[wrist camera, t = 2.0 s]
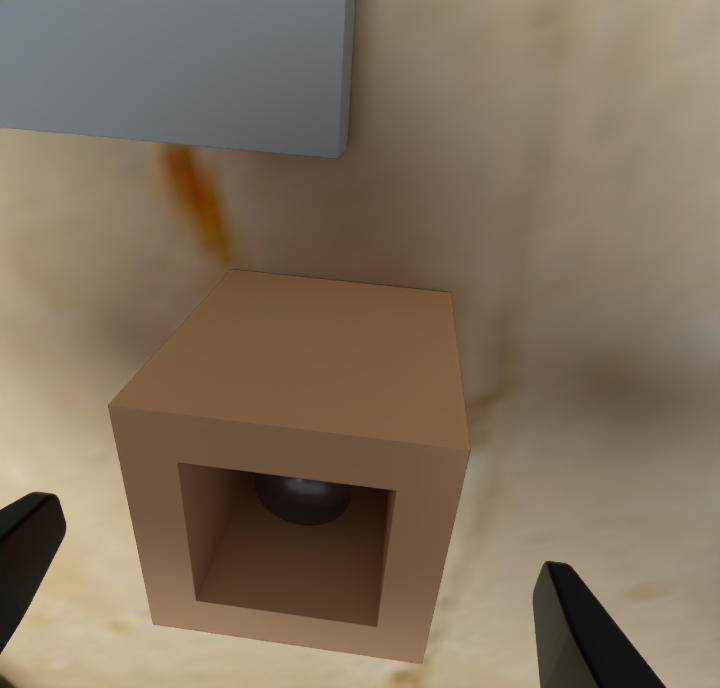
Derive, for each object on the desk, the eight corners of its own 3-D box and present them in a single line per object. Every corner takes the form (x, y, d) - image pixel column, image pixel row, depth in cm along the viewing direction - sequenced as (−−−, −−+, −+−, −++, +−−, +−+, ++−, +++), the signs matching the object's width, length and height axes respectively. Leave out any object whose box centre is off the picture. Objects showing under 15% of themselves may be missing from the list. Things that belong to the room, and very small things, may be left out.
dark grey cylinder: (373, 346, 14) (354, 459, 10) (367, 407, 15) (348, 531, 11) (299, 338, 14) (253, 446, 10) (299, 399, 15) (255, 518, 11)
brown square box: (450, 292, 13) (470, 449, 8) (421, 462, 16) (421, 664, 10) (231, 269, 13) (108, 405, 8) (241, 439, 16) (153, 624, 11)
